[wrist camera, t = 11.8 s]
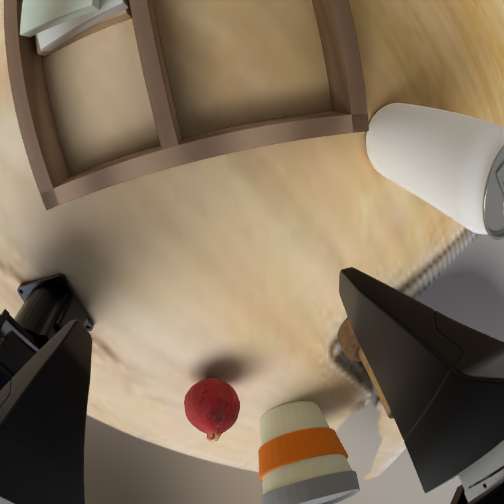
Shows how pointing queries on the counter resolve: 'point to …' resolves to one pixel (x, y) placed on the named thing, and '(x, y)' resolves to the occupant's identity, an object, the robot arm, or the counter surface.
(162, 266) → the counter surface
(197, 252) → the counter surface
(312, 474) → the reusable coffee cup
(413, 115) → the can
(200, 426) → the red pomegranate
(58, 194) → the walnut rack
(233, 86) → the counter surface
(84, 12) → the offcut stack
